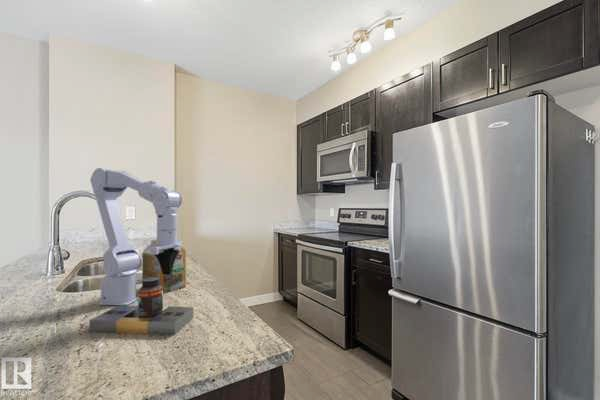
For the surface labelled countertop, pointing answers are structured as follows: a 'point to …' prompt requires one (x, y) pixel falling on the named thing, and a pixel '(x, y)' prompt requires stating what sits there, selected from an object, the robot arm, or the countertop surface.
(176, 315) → the grey flat block
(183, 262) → the food carton
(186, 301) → the countertop surface
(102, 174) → the robot arm
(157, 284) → the supplement bottle
